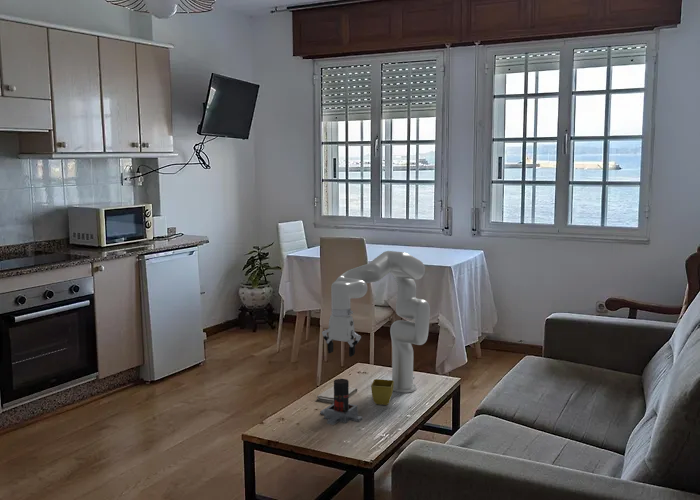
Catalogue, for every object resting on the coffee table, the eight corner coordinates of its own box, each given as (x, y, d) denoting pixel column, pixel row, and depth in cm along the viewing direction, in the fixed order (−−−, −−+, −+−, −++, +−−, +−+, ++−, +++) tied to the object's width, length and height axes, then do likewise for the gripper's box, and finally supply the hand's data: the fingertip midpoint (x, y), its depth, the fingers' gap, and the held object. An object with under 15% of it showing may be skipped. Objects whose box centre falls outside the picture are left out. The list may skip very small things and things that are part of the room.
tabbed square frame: (333, 405, 282) (333, 396, 282) (370, 413, 274) (370, 404, 273) (310, 420, 267) (310, 410, 266) (350, 428, 258) (350, 418, 257)
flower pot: (391, 407, 280) (391, 386, 279) (370, 406, 282) (370, 385, 281) (393, 400, 289) (394, 380, 288) (374, 398, 291) (374, 378, 289)
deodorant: (332, 414, 272) (332, 379, 270) (346, 413, 274) (345, 378, 272) (336, 420, 267) (336, 384, 265) (350, 418, 268) (350, 382, 266)
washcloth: (315, 401, 288) (315, 395, 288) (334, 389, 304) (334, 382, 304) (340, 406, 283) (340, 399, 283) (357, 393, 299) (357, 386, 299)
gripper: (364, 312, 264) (364, 354, 266) (327, 308, 272) (327, 349, 274) (355, 316, 257) (355, 359, 259) (317, 312, 265) (317, 353, 268)
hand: (341, 354), depth 267 cm, fingers open, 9 cm apart
